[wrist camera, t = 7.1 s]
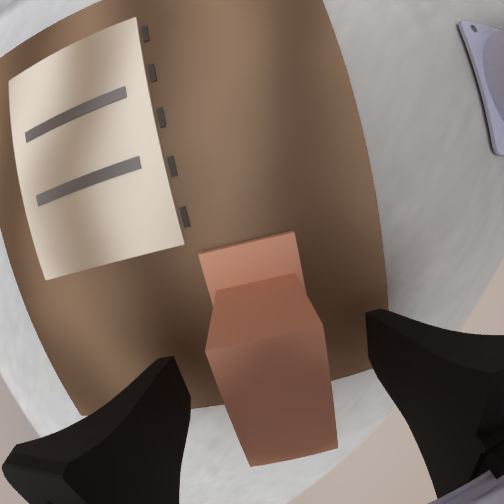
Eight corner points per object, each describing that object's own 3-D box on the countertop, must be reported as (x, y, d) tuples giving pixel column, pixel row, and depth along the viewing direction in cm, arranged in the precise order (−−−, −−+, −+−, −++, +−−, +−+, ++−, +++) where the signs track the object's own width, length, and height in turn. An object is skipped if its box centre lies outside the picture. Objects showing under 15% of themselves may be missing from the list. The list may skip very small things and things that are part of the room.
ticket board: (299, -31, 10) (304, -47, 9) (381, 350, 15) (392, 365, 14) (-4, 74, 11) (-20, 69, 9) (88, 403, 15) (79, 418, 14)
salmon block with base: (292, 230, 12) (325, 265, 7) (321, 393, 14) (347, 467, 9) (199, 252, 12) (175, 300, 7) (248, 410, 14) (251, 488, 9)
